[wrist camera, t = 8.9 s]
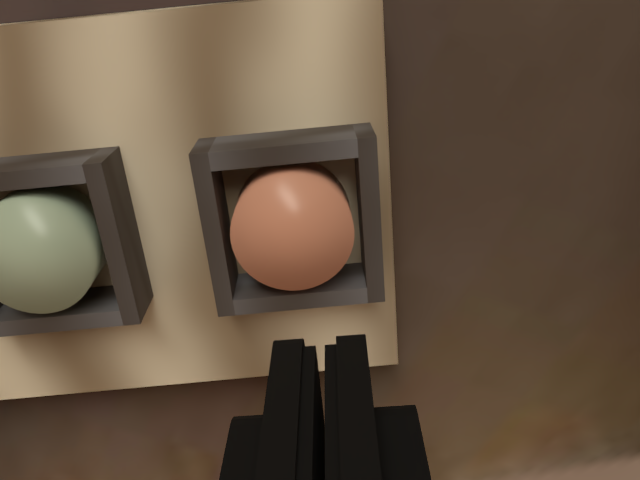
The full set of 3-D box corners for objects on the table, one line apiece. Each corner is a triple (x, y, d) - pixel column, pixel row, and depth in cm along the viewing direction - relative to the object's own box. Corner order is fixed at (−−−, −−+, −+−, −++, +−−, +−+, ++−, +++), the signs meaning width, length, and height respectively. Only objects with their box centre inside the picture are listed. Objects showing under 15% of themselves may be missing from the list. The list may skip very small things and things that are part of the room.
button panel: (374, -13, 20) (390, -10, 17) (391, 336, 26) (406, 395, 22) (-323, 55, 20) (-458, 72, 17) (-156, 386, 26) (-230, 453, 22)
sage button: (96, 176, 20) (76, 196, 18) (122, 280, 22) (106, 307, 20) (-21, 187, 20) (-52, 208, 19) (14, 290, 22) (-12, 318, 20)
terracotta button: (346, 152, 20) (350, 170, 18) (353, 258, 22) (358, 284, 20) (228, 164, 20) (221, 182, 18) (244, 268, 22) (239, 295, 20)
